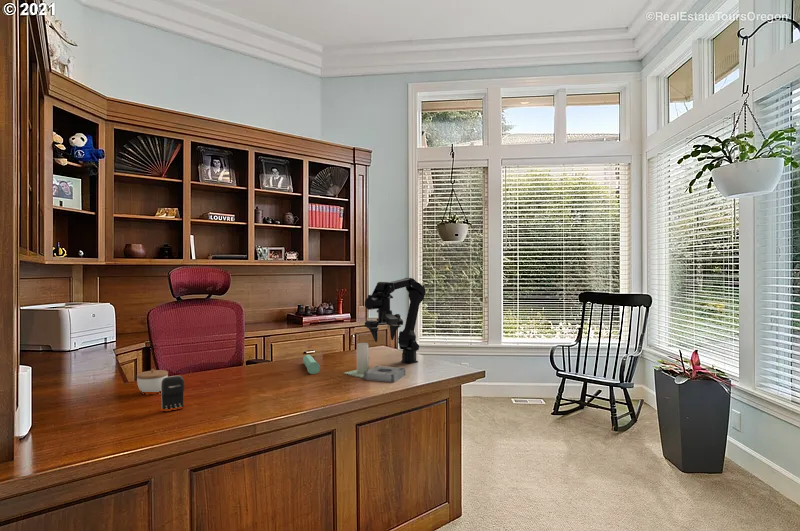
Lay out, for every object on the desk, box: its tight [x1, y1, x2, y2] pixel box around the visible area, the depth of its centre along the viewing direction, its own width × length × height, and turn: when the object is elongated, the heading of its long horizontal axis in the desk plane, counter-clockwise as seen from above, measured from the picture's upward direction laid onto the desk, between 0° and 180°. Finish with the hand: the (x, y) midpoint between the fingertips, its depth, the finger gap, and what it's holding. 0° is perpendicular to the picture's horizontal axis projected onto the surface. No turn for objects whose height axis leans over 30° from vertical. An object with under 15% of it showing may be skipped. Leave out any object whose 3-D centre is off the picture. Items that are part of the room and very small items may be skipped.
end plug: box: [356, 342, 370, 374], centre depth 213 cm, size 5×5×13 cm
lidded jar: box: [136, 368, 169, 393], centre depth 182 cm, size 11×11×9 cm
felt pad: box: [343, 369, 364, 379], centre depth 213 cm, size 12×12×1 cm
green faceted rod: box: [302, 354, 321, 375], centre depth 225 cm, size 6×6×25 cm
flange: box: [363, 365, 406, 383], centre depth 206 cm, size 14×14×3 cm
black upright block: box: [160, 375, 185, 409], centre depth 160 cm, size 7×4×11 cm, turn 129°
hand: (384, 340), depth 224 cm, fingers open, 9 cm apart
